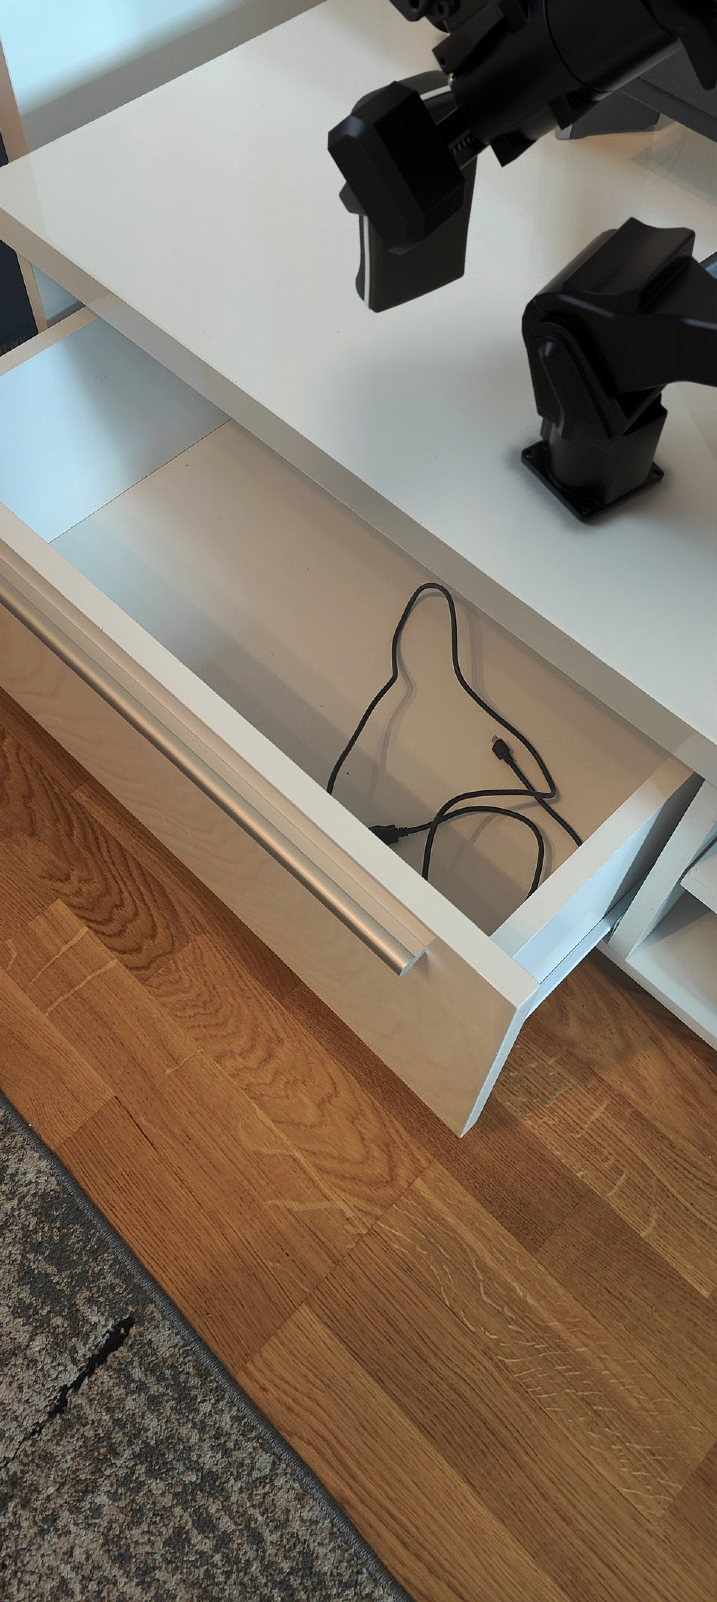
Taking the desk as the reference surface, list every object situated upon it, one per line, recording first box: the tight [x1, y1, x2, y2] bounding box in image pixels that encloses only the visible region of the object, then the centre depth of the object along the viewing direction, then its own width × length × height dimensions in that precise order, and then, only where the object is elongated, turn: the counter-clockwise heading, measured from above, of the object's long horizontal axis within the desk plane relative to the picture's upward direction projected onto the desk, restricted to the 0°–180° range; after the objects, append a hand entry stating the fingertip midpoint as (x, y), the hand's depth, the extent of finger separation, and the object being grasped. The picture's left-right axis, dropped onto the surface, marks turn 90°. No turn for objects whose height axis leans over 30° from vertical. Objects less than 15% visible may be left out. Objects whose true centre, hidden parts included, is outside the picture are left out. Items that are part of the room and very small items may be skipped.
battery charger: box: [350, 69, 479, 314], centre depth 63 cm, size 7×4×11 cm, turn 122°
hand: (387, 168), depth 63 cm, fingers closed on battery charger, 7 cm apart
